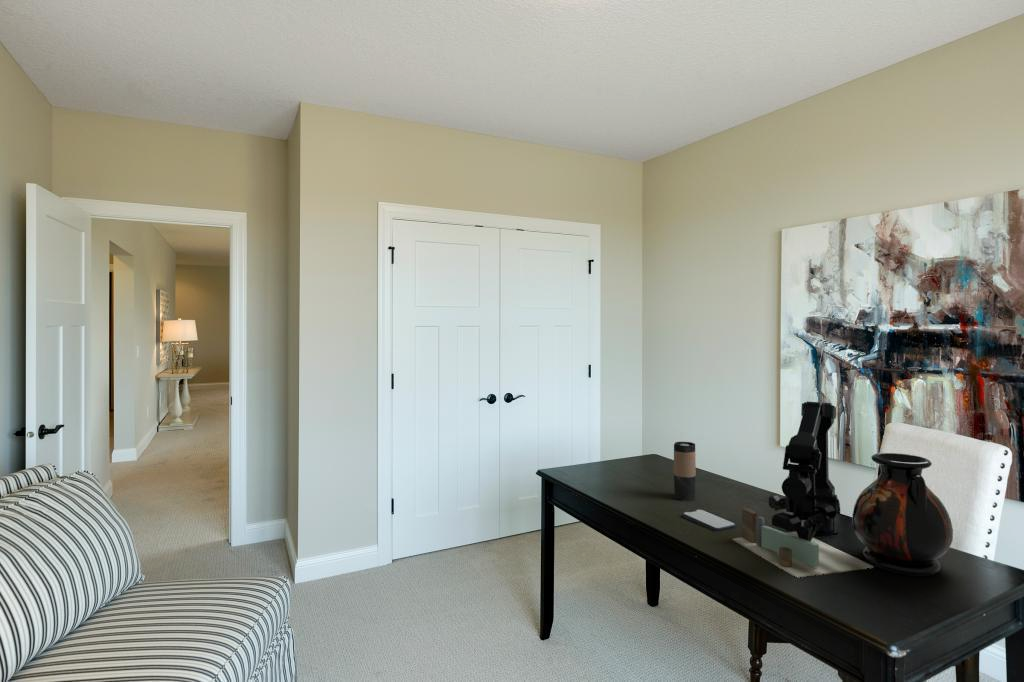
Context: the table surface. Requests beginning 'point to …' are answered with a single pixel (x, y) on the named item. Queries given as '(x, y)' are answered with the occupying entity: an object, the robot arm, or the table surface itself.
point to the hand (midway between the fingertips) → (804, 547)
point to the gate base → (828, 560)
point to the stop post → (785, 557)
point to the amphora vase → (902, 518)
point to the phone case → (709, 520)
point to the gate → (787, 543)
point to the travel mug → (684, 470)
